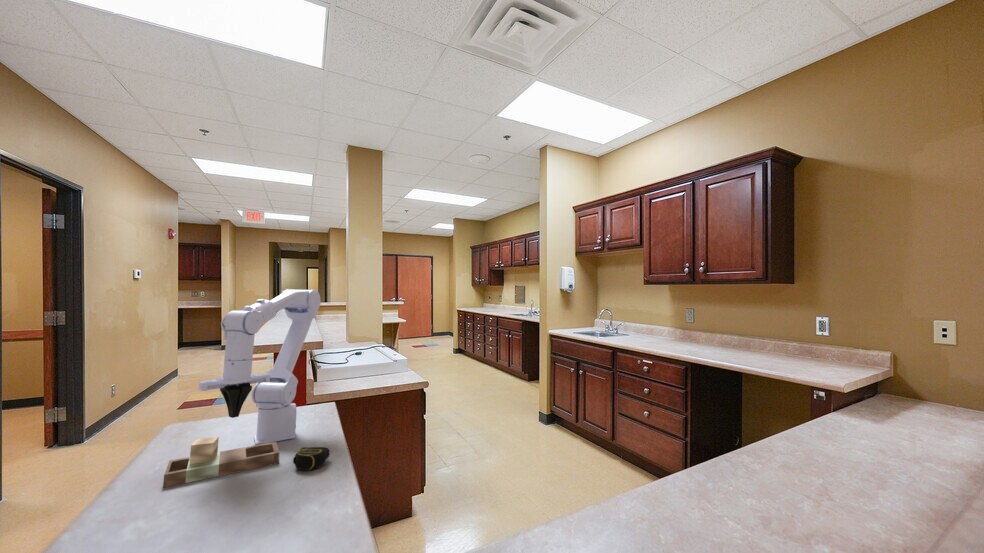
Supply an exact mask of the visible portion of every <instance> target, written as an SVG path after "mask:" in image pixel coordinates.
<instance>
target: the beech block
mask: <svg viewBox="0 0 984 553" xmlns="http://www.w3.org/2000/svg"><path fill="white" fill-rule="evenodd" d="M219 438H220V437H219V436H214V437H213V436H212V437H202V438H197V439H196V440H195V441H194V442H193V443H191V445H190V453H189V457H190V464H194V463H202V462H210V461H212V460H213V459H214V458H215V457H216V455H217V452H219V450H218V449H219Z"/></svg>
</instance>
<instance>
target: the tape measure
mask: <svg viewBox="0 0 984 553" xmlns="http://www.w3.org/2000/svg"><path fill="white" fill-rule="evenodd" d="M330 452H331V451H330V448H328V447H323V446H322V447H321V446H313V447H312V446H311V447H310V446H309V447H305V446H304V447H301V448H300V449H299V450H297V451H296V453H295V455H294V457H293V459H292V463H293V464H294V467H295V468H296V469H298V470H303V471H305V470H313V469H317V468H321V466H324V465H325V463H326V462H327V460H328V458H329V457H330Z"/></svg>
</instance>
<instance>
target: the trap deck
mask: <svg viewBox="0 0 984 553" xmlns="http://www.w3.org/2000/svg"><path fill="white" fill-rule="evenodd" d="M279 450H280V449H279V448H278V444H277V441H275V442H270V443H264V444H258V445H250V446H245V447H238V448H233V449H228V450H227V449H226V450H222V451H218V452H217V455H216V457H215V458H214V459H213V460H212V461H210V462H202V463H194V464H190V456H188V457H184V458H178V459H177V458H175V459H171V460H169V461H168V463H167V466H166V468H165V469H166V470H165V472H164V474H163V482H162V483H163V484H162V485H163V486H162V488H163V489H164V488H167V487H173V486H177V485H181V484H186V483H187V484H188V483H191V482H196V481H201V480H206V479H210V478H214V477H221V476H224V475H229V474H235V473H239V472H244V471H249V470H253V469H257V468H259V469H260V468H262V467H267V466H272V465H278V464H279V463H280V462H279V460H280V451H279Z"/></svg>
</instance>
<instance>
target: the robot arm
mask: <svg viewBox="0 0 984 553" xmlns="http://www.w3.org/2000/svg"><path fill="white" fill-rule="evenodd" d="M321 304H322V302H321V295H320V292H319V290H318V289H291V288H286V289H285V290H284V289H283V290H281V293H280V294H279V295H277V296H275V297H274V298H272V299H269V300H268V299H264V298H259V299H256V302H255V303H253V304H251V305H245V306H244V307H243V308H241V309H240V310H230V311H229V312H228V313H227V314H225V315H224V316H223V317H222V318H223V319H222V321H220V327H221V330H222V332H223V339H224V341H225V348H224V360H223V371H222V377H221V378H216V379H214V378H213V379H209V380H202V381H199V382H198V391H200V392H206V391H209V390H217V389H219V390H220V391H219V392H220V394H222V396H223V398H224V401H225V404H226V407H227V413H228V417H229V418H232V419H234V418H237V417H239V416H240V413H241V410H242V407H243V405H244V403H245V401H246V399H247V397H248V396H249V394H250V393H251V401H252V402H253V403H254V404H255V408H258V409H257V411H258V412H257V425H256V433H254V435H253V439H254V444H255V445H260V444H266V443H271V442H280V441H286V440H292V439H296V429H297V404H296V403H295V402H293V401H294V400H295V398H296V395H297V386H298V384H299V380H298V378H297V377H296V376H295V375H294V373H293V371H294V369H295V366H296V364H297V360H298V358H299V356H300V353H301V351H302V348H303V346H304V343H305V340H306V337H307V335H308V332H309V330H310V327H311V324H312V323H313V320H314V319H316V316H317V315H318V311H319V309H320V306H321ZM283 309H284V312H285V314H286V317H287V318H288V319H290V320H291V324H290V326H289V328H288V332H287V334H286V335H285V338H284V340H283V343H282V346H281V348H280V351H278V352H279V353H278V355H277V357H276V359H275V362H274V364H273V367H272V369H270V370H269V371H266V372H265V373H260V374H259V373H258V374H257V373H256V374H252V371H253V370H252V369H253V368H252V367H253V358H254V347H255V344H254V343H255V334H257V333H258V332H259V331H260V329H261V327H262V326H263V325H264V324H265V323H268V322H269V321H271V320H272V319H274V318H275V317H276V315H277V314H278V312H279V311H282V310H283ZM252 384H255V385H254V386H253V385H252Z"/></svg>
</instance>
